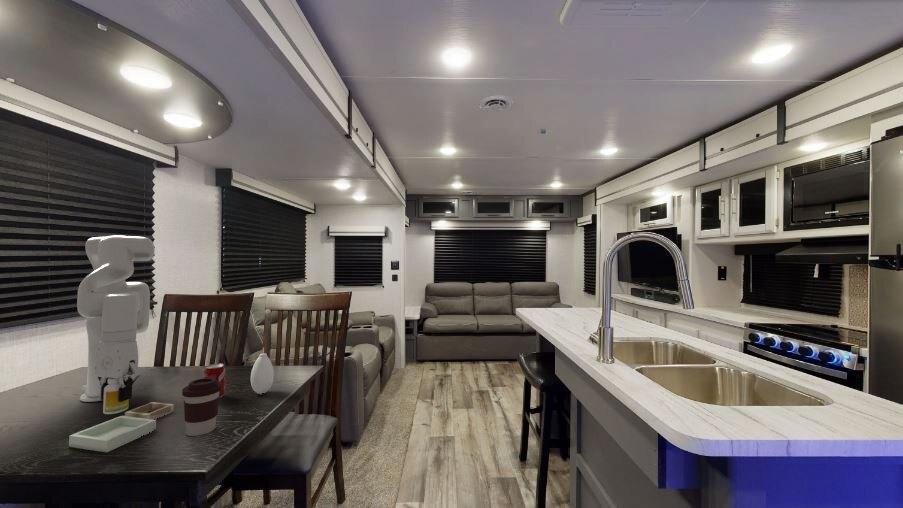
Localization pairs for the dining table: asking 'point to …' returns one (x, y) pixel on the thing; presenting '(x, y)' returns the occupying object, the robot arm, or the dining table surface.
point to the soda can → (216, 375)
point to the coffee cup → (201, 405)
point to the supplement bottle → (113, 398)
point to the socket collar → (156, 407)
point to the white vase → (262, 374)
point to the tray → (112, 433)
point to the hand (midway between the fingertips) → (116, 398)
